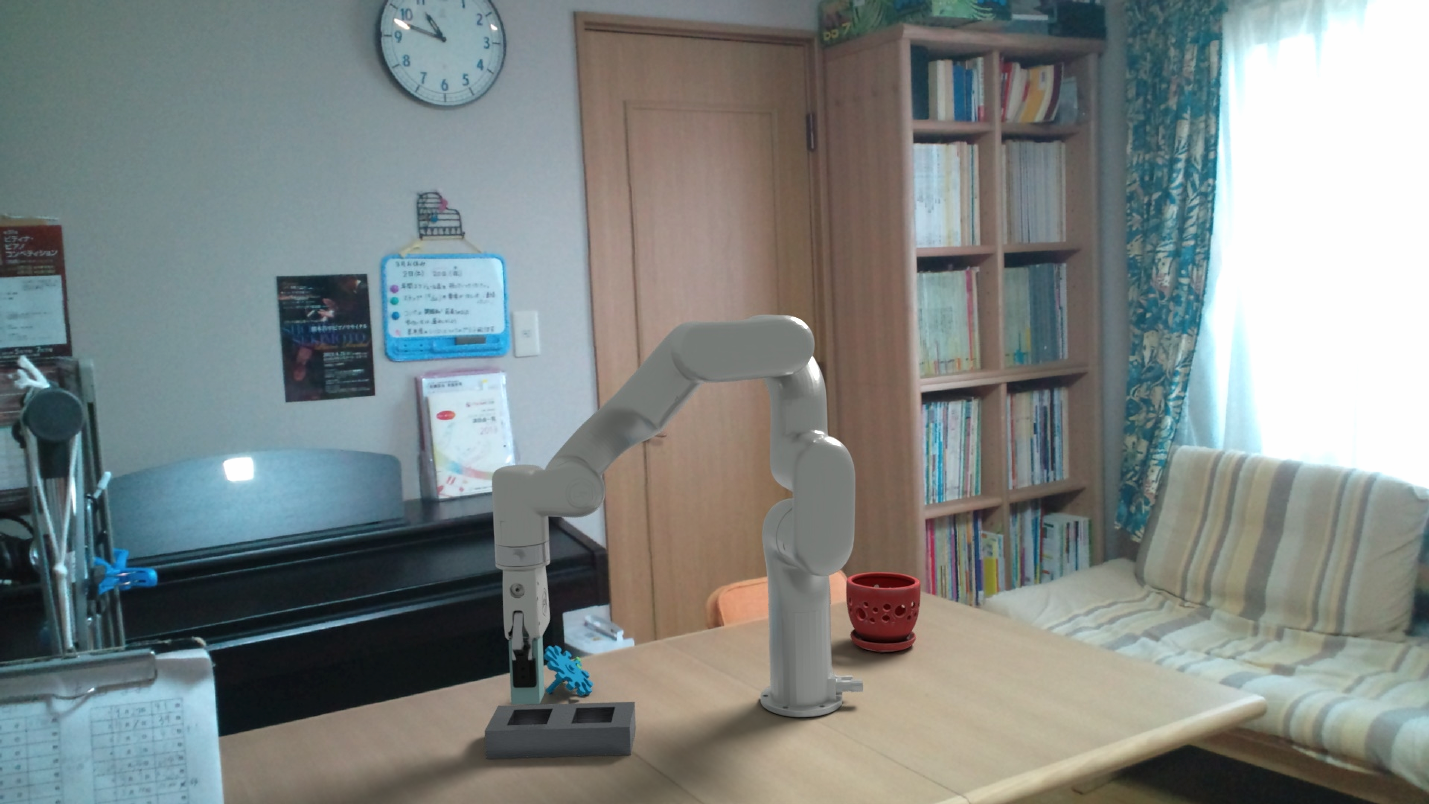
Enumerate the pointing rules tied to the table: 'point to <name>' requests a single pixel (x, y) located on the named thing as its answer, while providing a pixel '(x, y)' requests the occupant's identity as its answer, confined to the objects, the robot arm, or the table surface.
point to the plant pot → (883, 610)
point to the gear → (567, 671)
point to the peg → (536, 692)
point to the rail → (561, 730)
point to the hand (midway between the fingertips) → (528, 679)
